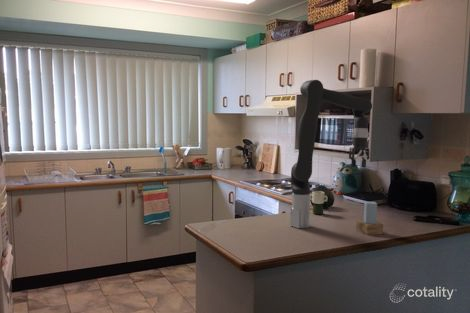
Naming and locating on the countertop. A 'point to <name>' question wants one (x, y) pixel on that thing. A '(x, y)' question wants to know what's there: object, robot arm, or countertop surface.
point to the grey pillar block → (370, 212)
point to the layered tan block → (369, 228)
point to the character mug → (318, 201)
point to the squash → (329, 195)
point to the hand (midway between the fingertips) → (358, 167)
